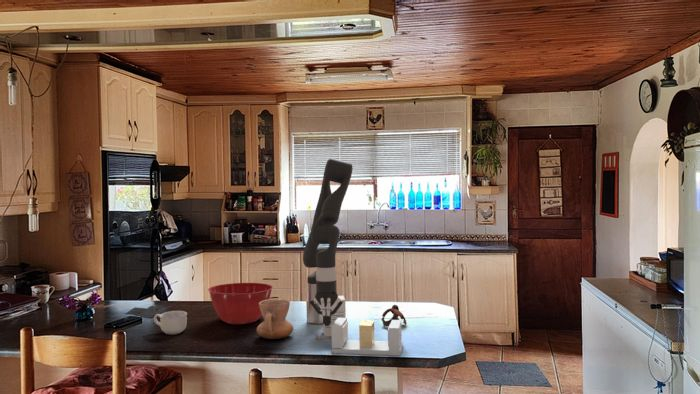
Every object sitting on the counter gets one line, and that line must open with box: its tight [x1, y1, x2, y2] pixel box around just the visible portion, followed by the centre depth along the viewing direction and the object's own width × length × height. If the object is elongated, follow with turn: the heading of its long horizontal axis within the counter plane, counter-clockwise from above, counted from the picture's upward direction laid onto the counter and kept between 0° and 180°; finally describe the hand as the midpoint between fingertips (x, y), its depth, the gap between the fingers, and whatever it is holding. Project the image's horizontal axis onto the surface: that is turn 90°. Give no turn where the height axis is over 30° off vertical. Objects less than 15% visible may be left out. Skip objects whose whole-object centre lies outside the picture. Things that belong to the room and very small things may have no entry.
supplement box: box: [322, 295, 347, 336], centre depth 216 cm, size 9×9×15 cm
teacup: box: [153, 310, 188, 335], centre depth 223 cm, size 14×11×8 cm
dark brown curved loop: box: [381, 304, 407, 327], centre depth 229 cm, size 12×9×8 cm
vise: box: [331, 319, 404, 356], centre depth 195 cm, size 24×12×10 cm, turn 80°
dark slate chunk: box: [124, 305, 171, 319], centre depth 254 cm, size 15×22×5 cm
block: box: [358, 320, 375, 348], centre depth 195 cm, size 4×7×8 cm, turn 170°
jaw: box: [315, 317, 349, 349], centre depth 197 cm, size 10×12×8 cm
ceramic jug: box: [256, 298, 294, 340], centre depth 213 cm, size 18×14×14 cm
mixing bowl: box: [207, 282, 273, 325], centre depth 240 cm, size 28×28×16 cm
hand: (327, 325), depth 199 cm, fingers closed
